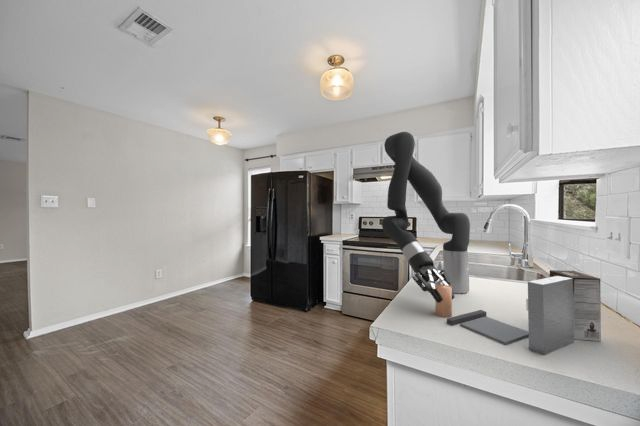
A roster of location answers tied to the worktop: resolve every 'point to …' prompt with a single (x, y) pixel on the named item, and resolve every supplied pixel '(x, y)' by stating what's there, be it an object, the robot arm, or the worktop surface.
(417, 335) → the worktop surface
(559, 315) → the breaker panel
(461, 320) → the dark grey slender bar
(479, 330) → the charcoal mat
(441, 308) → the peach domed cylinder
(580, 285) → the coffee box
